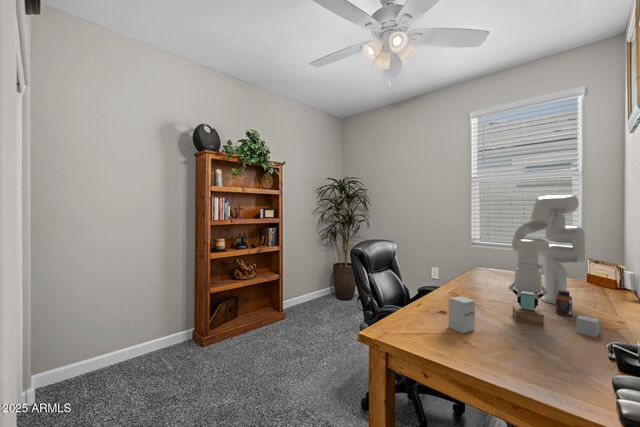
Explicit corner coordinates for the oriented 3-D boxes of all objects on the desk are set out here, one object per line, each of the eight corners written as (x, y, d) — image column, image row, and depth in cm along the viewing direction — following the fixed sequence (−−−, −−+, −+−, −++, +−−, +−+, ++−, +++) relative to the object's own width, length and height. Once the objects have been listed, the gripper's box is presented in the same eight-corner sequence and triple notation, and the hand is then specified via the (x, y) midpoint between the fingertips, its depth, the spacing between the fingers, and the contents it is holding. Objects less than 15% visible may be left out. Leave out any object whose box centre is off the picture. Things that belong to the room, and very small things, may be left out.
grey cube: (579, 328, 119) (579, 314, 119) (599, 333, 114) (599, 319, 114) (576, 332, 115) (576, 318, 115) (596, 337, 111) (596, 322, 111)
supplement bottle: (575, 317, 133) (575, 293, 132) (560, 316, 134) (560, 292, 134) (566, 312, 138) (567, 289, 138) (553, 311, 140) (553, 289, 140)
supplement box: (463, 334, 113) (464, 302, 113) (447, 327, 120) (448, 297, 120) (475, 330, 117) (475, 300, 117) (459, 324, 123) (459, 295, 123)
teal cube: (521, 304, 132) (521, 292, 132) (534, 306, 129) (534, 293, 129) (520, 307, 128) (520, 294, 128) (534, 309, 125) (534, 296, 125)
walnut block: (512, 315, 135) (512, 304, 135) (538, 318, 131) (538, 308, 131) (516, 322, 127) (516, 311, 126) (543, 326, 122) (543, 315, 122)
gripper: (551, 267, 126) (551, 307, 127) (506, 263, 137) (506, 300, 137) (552, 270, 120) (551, 312, 121) (505, 265, 131) (504, 304, 131)
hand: (527, 305), depth 129 cm, fingers closed on teal cube, 4 cm apart
